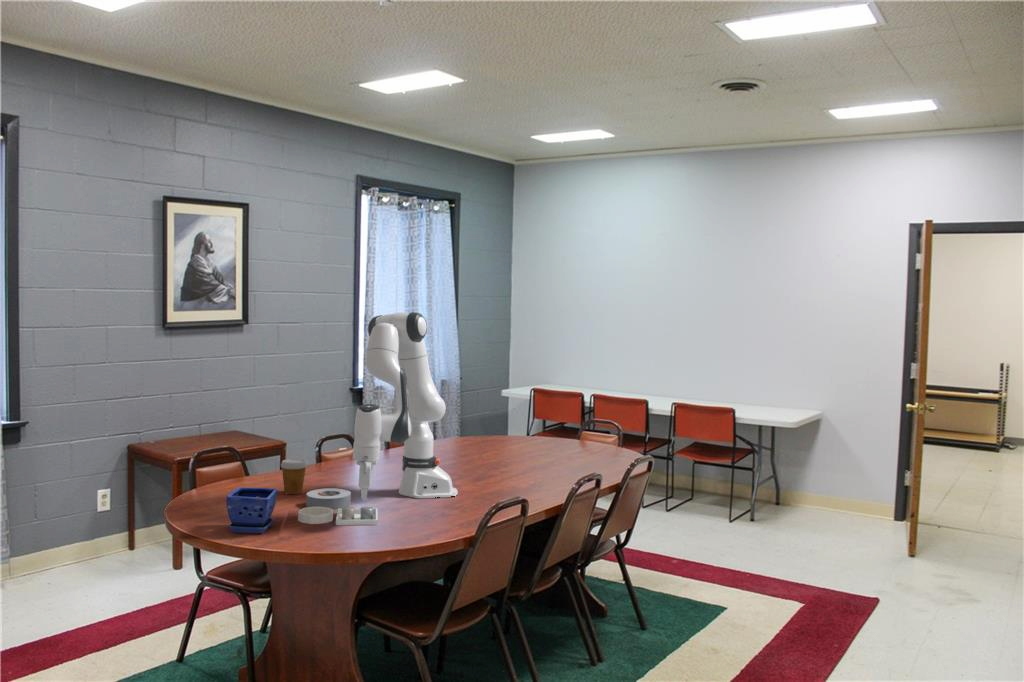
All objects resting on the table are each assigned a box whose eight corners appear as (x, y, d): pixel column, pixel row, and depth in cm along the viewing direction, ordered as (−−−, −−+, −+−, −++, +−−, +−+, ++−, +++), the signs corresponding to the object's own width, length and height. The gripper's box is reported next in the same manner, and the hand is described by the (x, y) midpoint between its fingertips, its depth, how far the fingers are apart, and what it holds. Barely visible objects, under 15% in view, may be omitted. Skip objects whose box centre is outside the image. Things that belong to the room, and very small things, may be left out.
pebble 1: (354, 517, 277) (354, 506, 276) (354, 520, 273) (354, 510, 272) (342, 517, 276) (342, 506, 276) (341, 520, 272) (341, 510, 272)
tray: (377, 515, 283) (377, 508, 283) (377, 527, 269) (377, 520, 269) (337, 515, 281) (338, 508, 281) (335, 527, 267) (335, 520, 266)
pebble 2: (372, 517, 278) (372, 506, 277) (372, 520, 274) (372, 510, 273) (360, 517, 277) (360, 506, 277) (360, 520, 273) (360, 510, 273)
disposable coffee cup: (311, 491, 313) (311, 460, 312) (298, 497, 304) (298, 464, 303) (288, 489, 316) (289, 457, 315) (274, 494, 306) (275, 462, 306)
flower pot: (278, 524, 268) (279, 487, 267) (267, 536, 255) (268, 497, 254) (236, 523, 268) (237, 486, 267) (223, 534, 254) (224, 496, 254)
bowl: (333, 517, 279) (334, 506, 279) (331, 526, 268) (332, 515, 268) (299, 517, 277) (300, 506, 277) (296, 526, 266) (297, 515, 266)
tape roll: (307, 513, 283) (307, 498, 283) (305, 502, 298) (305, 488, 297) (352, 512, 287) (353, 497, 287) (348, 501, 302) (349, 487, 302)
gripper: (375, 460, 264) (373, 503, 265) (376, 449, 284) (374, 489, 285) (355, 459, 263) (353, 502, 264) (358, 448, 284) (356, 488, 284)
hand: (364, 495), depth 275 cm, fingers open, 8 cm apart
